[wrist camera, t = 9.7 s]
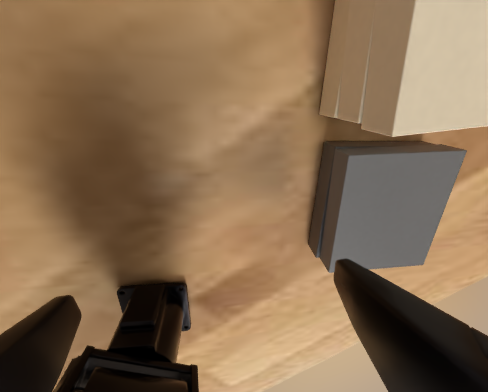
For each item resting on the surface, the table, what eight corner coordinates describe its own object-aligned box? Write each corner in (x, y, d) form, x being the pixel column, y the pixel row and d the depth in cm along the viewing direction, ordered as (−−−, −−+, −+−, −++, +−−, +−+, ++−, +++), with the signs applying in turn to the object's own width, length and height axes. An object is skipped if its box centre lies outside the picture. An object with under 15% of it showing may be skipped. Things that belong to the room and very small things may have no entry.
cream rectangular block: (461, 118, 13) (514, 123, 11) (360, 129, 13) (391, 137, 10) (517, -77, 10) (611, -131, 7) (383, -67, 10) (437, -121, 7)
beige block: (394, 115, 18) (456, 123, 13) (314, 115, 17) (348, 123, 13) (431, -23, 15) (532, -79, 10) (333, -30, 14) (390, -93, 9)
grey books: (390, 240, 23) (421, 268, 20) (307, 244, 22) (324, 273, 19) (424, 139, 19) (472, 150, 15) (324, 139, 18) (349, 150, 15)
